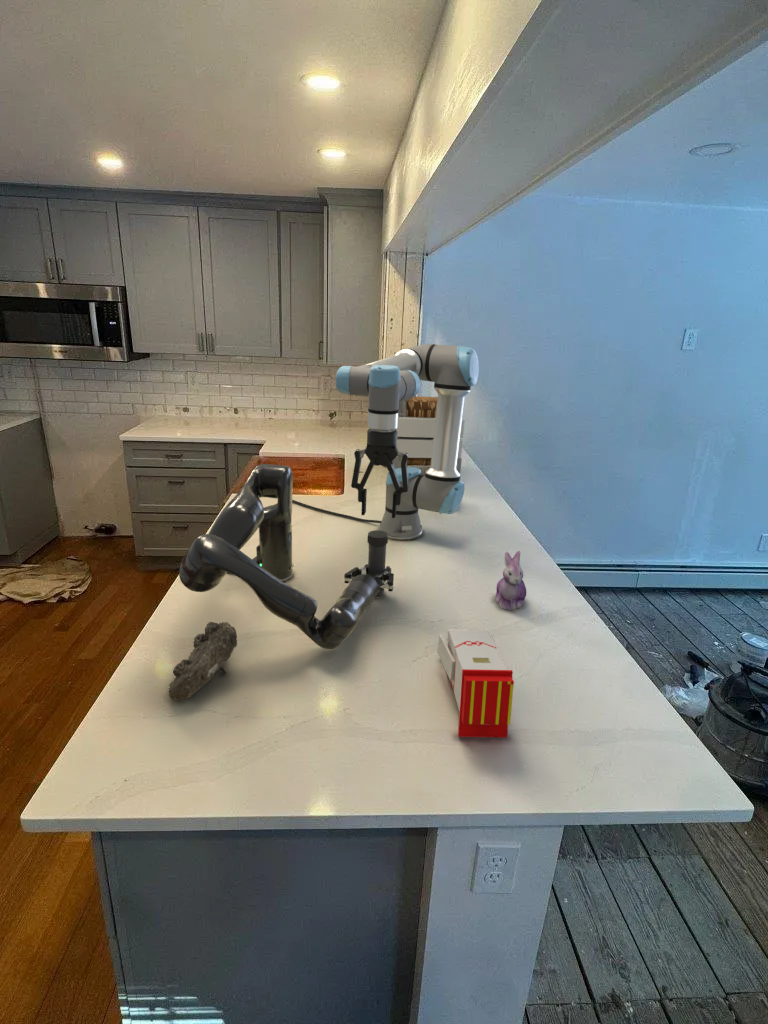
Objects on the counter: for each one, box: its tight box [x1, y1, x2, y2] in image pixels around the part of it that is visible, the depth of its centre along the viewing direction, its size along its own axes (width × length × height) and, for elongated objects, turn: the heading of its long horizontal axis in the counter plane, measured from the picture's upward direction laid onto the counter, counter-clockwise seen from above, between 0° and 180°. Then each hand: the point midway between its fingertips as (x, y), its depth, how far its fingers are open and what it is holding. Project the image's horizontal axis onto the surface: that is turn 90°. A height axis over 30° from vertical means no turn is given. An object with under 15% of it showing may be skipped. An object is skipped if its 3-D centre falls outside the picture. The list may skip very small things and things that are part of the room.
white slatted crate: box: [393, 395, 465, 475], centre depth 268 cm, size 34×33×41 cm
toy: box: [437, 628, 515, 738], centre depth 117 cm, size 12×13×30 cm
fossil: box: [167, 621, 238, 701], centre depth 119 cm, size 22×10×15 cm
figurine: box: [495, 550, 527, 611], centre depth 153 cm, size 9×10×15 cm
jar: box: [367, 543, 387, 599], centre depth 154 cm, size 5×5×18 cm
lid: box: [367, 529, 389, 546], centre depth 152 cm, size 6×6×2 cm
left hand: (379, 567), depth 157 cm, fingers closed on jar, 4 cm apart
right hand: (378, 514), depth 149 cm, fingers open, 7 cm apart
